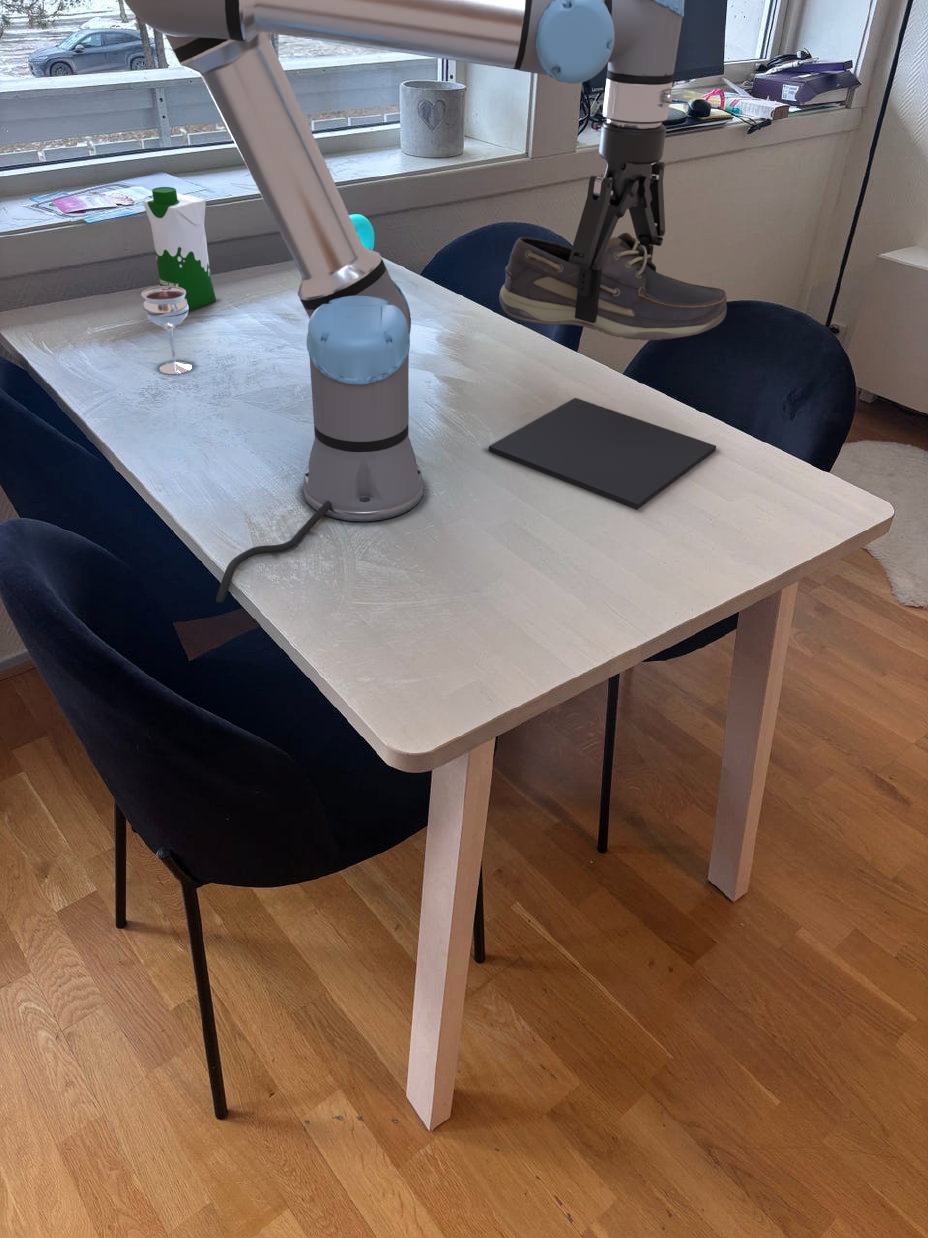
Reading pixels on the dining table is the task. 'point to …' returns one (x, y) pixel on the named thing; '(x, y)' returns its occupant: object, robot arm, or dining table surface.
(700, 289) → the boat shoe
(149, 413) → the dining table surface
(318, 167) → the robot arm
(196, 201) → the milk carton
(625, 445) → the boot mat
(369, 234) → the donuts
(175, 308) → the wineglass
